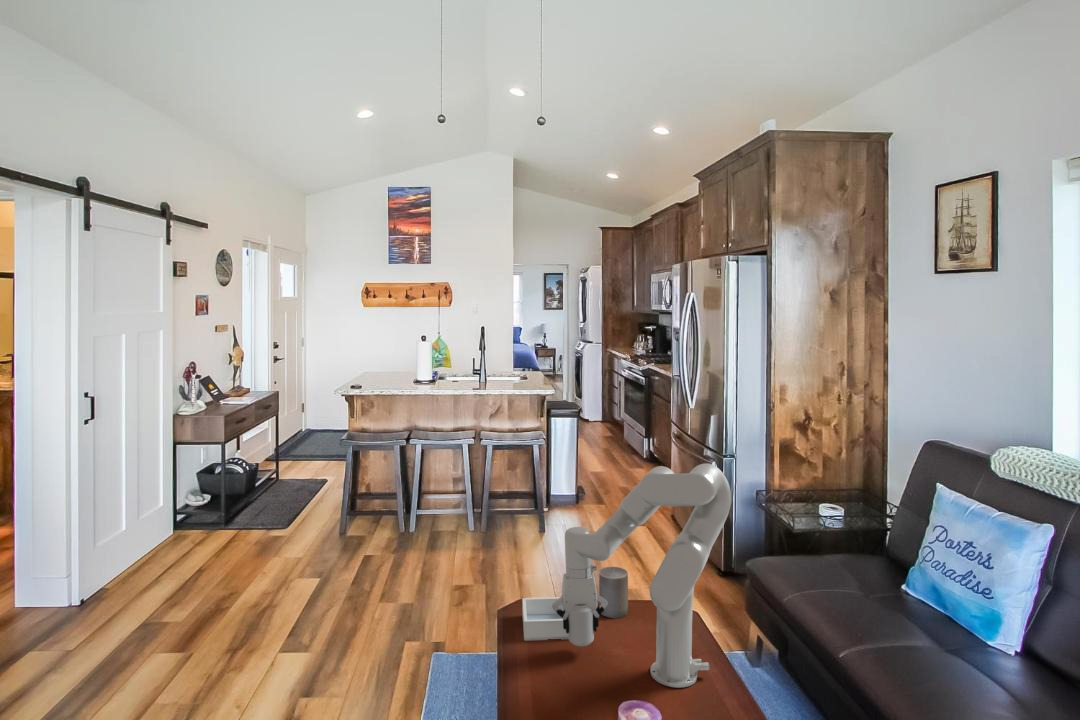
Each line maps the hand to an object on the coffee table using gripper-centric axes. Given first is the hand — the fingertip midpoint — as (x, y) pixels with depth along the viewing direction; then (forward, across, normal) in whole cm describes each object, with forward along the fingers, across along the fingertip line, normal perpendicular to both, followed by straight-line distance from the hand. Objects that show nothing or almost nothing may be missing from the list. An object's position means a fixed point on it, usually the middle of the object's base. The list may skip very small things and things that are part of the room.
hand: (580, 629), depth 181 cm
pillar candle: (+7, -14, -26) cm, 30 cm away
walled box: (+7, +9, -17) cm, 20 cm away
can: (+4, 0, 0) cm, 4 cm away
